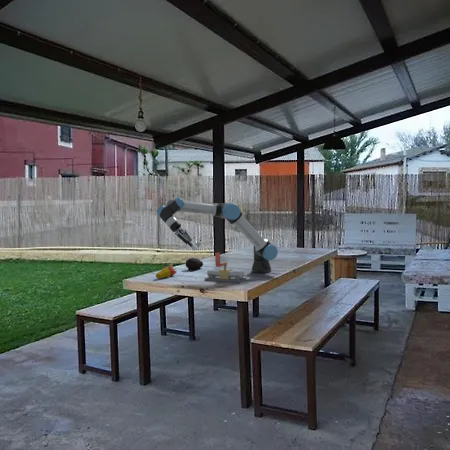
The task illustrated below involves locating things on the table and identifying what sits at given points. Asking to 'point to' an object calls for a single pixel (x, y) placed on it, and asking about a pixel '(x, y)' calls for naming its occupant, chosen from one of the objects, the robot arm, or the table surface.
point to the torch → (166, 272)
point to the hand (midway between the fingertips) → (195, 249)
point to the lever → (217, 260)
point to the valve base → (225, 275)
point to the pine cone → (194, 264)
